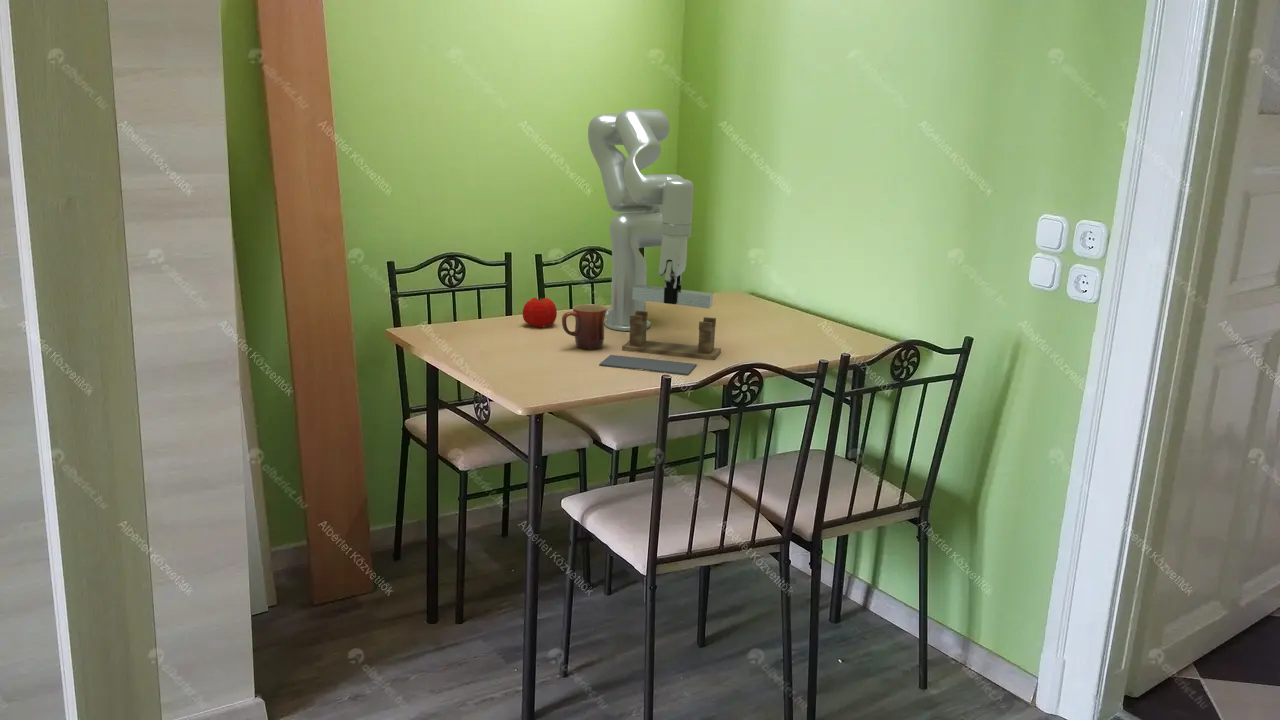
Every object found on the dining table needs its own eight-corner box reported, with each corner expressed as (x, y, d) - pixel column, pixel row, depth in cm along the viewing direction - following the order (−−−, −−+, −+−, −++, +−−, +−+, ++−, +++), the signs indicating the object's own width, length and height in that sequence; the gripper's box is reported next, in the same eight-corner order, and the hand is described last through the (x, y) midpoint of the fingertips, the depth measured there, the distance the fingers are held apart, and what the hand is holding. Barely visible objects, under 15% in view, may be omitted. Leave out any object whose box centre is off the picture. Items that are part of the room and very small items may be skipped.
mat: (599, 365, 241) (599, 363, 241) (610, 356, 249) (610, 354, 249) (688, 375, 235) (688, 373, 235) (696, 365, 244) (696, 363, 243)
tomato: (551, 321, 283) (552, 295, 281) (559, 328, 275) (559, 302, 273) (519, 322, 280) (519, 296, 278) (525, 330, 272) (525, 303, 270)
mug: (597, 341, 263) (598, 303, 260) (612, 349, 256) (613, 310, 253) (555, 345, 258) (555, 306, 255) (569, 353, 250) (569, 314, 247)
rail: (632, 299, 254) (633, 286, 253) (635, 296, 257) (636, 284, 256) (709, 308, 249) (710, 296, 248) (711, 305, 252) (712, 293, 251)
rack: (622, 350, 255) (622, 315, 253) (631, 342, 262) (632, 309, 260) (714, 359, 249) (716, 324, 246) (720, 352, 256) (722, 317, 254)
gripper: (669, 223, 256) (665, 293, 261) (652, 233, 241) (649, 307, 246) (698, 226, 254) (693, 296, 259) (682, 236, 239) (678, 311, 244)
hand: (672, 301), depth 253 cm, fingers closed on rail, 3 cm apart
